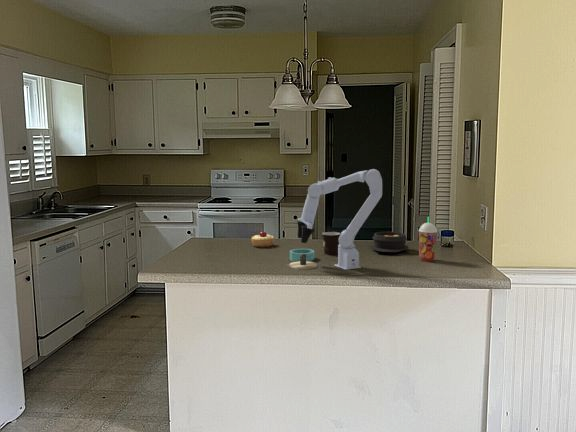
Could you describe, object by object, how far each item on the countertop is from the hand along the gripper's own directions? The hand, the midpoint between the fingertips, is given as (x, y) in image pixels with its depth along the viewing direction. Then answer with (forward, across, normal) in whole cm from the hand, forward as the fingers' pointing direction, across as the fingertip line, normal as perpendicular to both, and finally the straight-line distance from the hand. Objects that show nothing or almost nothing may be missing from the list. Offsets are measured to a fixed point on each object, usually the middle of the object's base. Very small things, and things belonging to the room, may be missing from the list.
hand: (301, 240), depth 240 cm
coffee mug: (+8, -20, +22) cm, 31 cm away
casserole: (+1, -21, +51) cm, 55 cm away
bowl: (+11, -10, +5) cm, 15 cm away
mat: (+10, +5, +2) cm, 12 cm away
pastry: (+18, -46, -6) cm, 50 cm away
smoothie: (-3, +4, +58) cm, 59 cm away
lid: (+10, +5, +2) cm, 11 cm away
